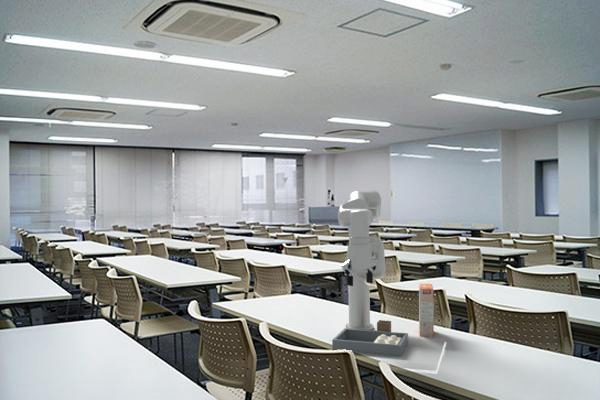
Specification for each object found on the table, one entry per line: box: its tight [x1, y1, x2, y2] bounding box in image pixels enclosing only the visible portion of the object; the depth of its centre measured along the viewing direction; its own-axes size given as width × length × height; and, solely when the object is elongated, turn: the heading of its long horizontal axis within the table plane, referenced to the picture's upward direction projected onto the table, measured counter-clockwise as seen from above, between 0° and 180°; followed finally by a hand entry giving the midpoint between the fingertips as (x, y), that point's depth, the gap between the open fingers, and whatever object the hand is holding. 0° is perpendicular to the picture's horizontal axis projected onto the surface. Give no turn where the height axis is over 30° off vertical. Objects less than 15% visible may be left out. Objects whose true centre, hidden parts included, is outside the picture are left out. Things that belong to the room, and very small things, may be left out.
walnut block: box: [376, 319, 392, 332], centre depth 219 cm, size 5×5×7 cm
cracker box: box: [418, 283, 435, 339], centre depth 225 cm, size 14×6×21 cm, turn 168°
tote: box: [331, 328, 409, 358], centre depth 204 cm, size 18×26×5 cm
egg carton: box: [374, 334, 401, 345], centre depth 202 cm, size 11×9×4 cm
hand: (359, 284), depth 208 cm, fingers open, 9 cm apart
